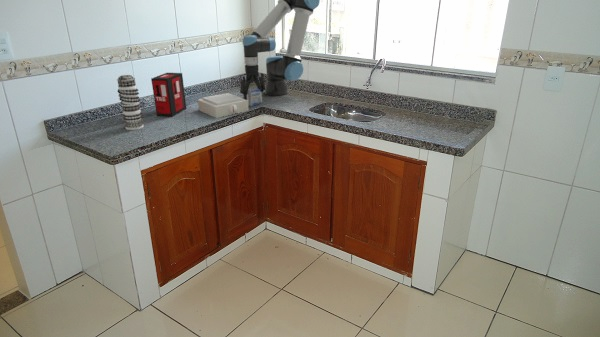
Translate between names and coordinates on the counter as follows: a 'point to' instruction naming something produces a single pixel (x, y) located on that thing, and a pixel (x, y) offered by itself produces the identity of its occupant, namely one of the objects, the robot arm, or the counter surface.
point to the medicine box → (254, 97)
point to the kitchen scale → (222, 105)
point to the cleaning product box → (169, 94)
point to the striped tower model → (130, 102)
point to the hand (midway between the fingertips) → (253, 103)
